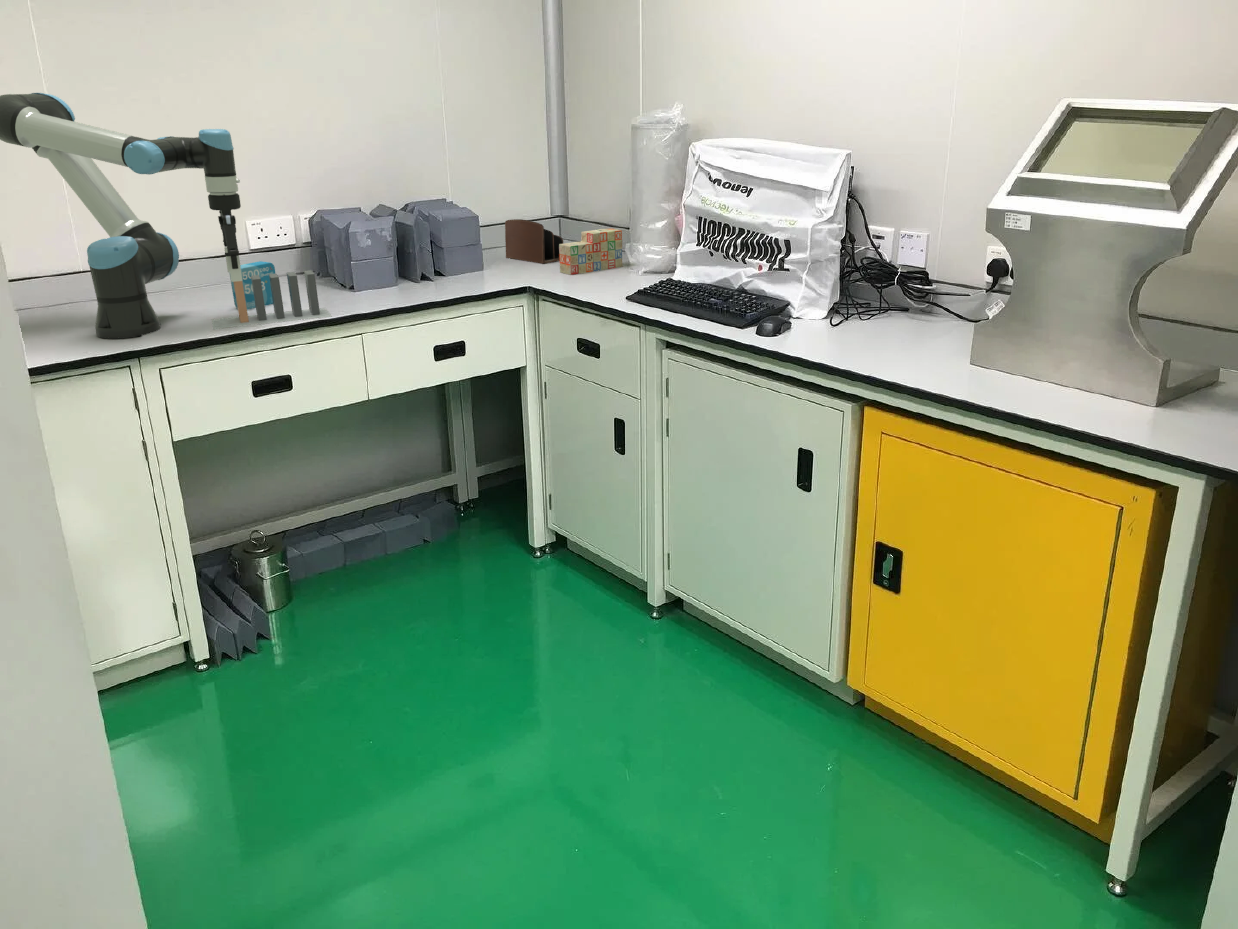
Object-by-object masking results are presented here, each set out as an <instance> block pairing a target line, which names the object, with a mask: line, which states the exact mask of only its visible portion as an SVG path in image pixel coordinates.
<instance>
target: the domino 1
mask: <svg viewBox="0 0 1238 929" xmlns="http://www.w3.org/2000/svg"><path fill="white" fill-rule="evenodd" d="M233 283H234V289H235V295H236V301H237V307H238V308H237V313H238V317H239V319H240V322H241V323H244V322H249V320H248V316H249V315H248V314H249V313H248V310H247V307H246V301H245V295H244V289H243V282H242V281H236V282H233Z"/></svg>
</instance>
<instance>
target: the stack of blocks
mask: <svg viewBox="0 0 1238 929" xmlns="http://www.w3.org/2000/svg"><path fill="white" fill-rule="evenodd" d="M580 234H581V235H580V238H581V240H580V241H572V242H565V243H563V244H559V253H560V254H559V261H558V263H559V273H561V274H566V275H570V276H573V275H579V274H586V273H593V272H597V271H598V270H599V271H605V270H610V269H616V268H623V230H622V229H617V228H611V227H610V228H599V229H597V228H596V229H593V230H586V231H581V233H580Z"/></svg>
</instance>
